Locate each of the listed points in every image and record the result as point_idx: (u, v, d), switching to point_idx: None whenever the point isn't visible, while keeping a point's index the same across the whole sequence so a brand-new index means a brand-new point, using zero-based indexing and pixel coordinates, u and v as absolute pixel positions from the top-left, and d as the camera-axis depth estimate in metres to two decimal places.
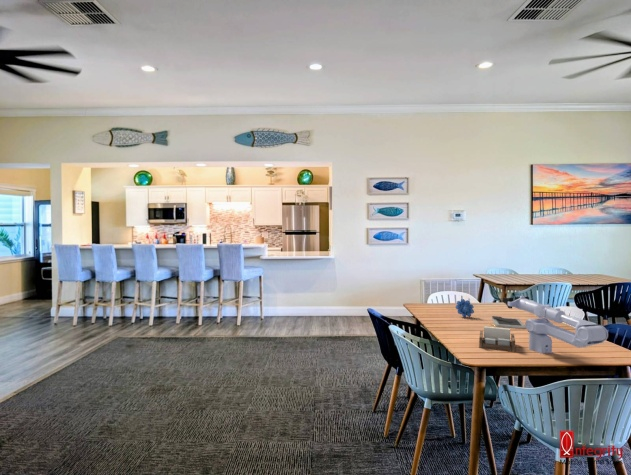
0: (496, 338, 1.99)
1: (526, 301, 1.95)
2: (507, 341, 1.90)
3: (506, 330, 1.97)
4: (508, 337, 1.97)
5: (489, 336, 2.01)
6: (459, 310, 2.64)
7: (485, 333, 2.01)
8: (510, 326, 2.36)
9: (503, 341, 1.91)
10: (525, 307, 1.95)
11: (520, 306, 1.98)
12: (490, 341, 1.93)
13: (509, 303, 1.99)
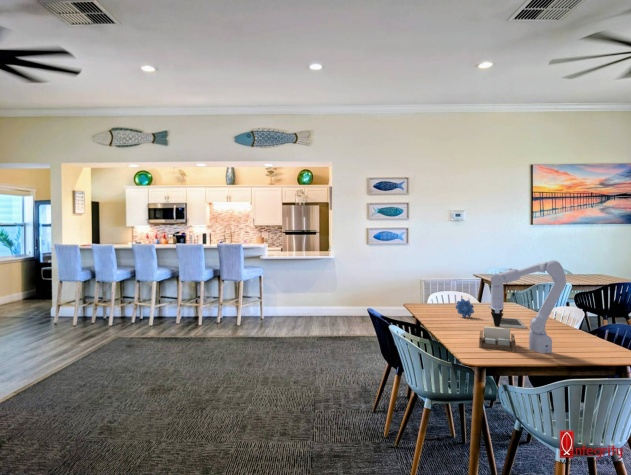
0: (496, 338, 1.99)
1: (492, 298, 1.99)
2: (507, 341, 1.90)
3: (506, 330, 1.97)
4: (508, 337, 1.97)
5: (489, 336, 2.01)
6: (459, 310, 2.64)
7: (485, 333, 2.01)
8: (510, 326, 2.36)
9: (503, 341, 1.91)
10: (497, 297, 1.97)
11: (498, 304, 1.97)
12: (490, 341, 1.93)
13: (496, 310, 1.93)
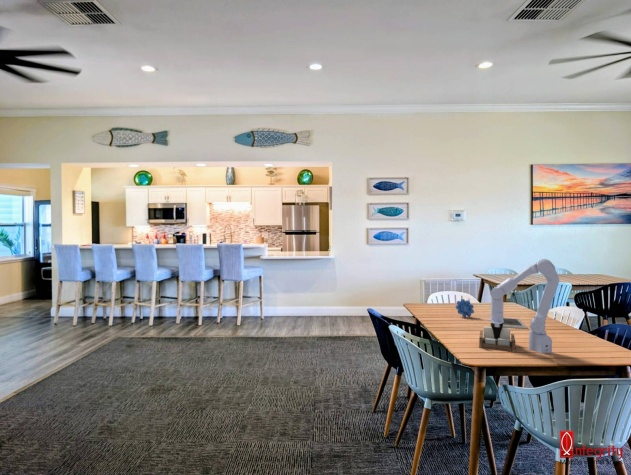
0: None
1: (491, 311, 1.99)
2: (507, 341, 1.90)
3: (506, 330, 1.97)
4: (508, 337, 1.97)
5: (489, 336, 2.01)
6: (459, 310, 2.64)
7: (485, 333, 2.01)
8: (511, 326, 2.36)
9: (503, 341, 1.91)
10: (497, 310, 1.97)
11: (498, 317, 1.97)
12: (490, 341, 1.93)
13: (496, 324, 1.93)
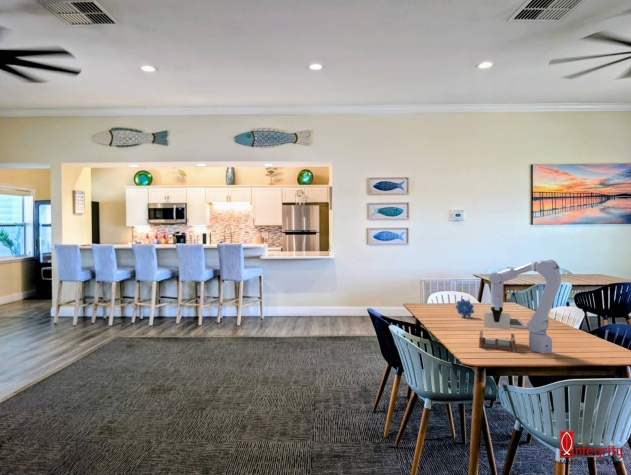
0: (496, 322, 2.06)
1: (492, 295, 2.06)
2: (507, 341, 1.90)
3: (506, 314, 2.04)
4: (508, 321, 2.04)
5: (490, 321, 2.07)
6: (459, 310, 2.64)
7: (485, 318, 2.08)
8: (511, 326, 2.35)
9: (503, 341, 1.91)
10: (494, 294, 2.05)
11: (498, 301, 2.04)
12: (490, 341, 1.93)
13: (496, 307, 2.00)
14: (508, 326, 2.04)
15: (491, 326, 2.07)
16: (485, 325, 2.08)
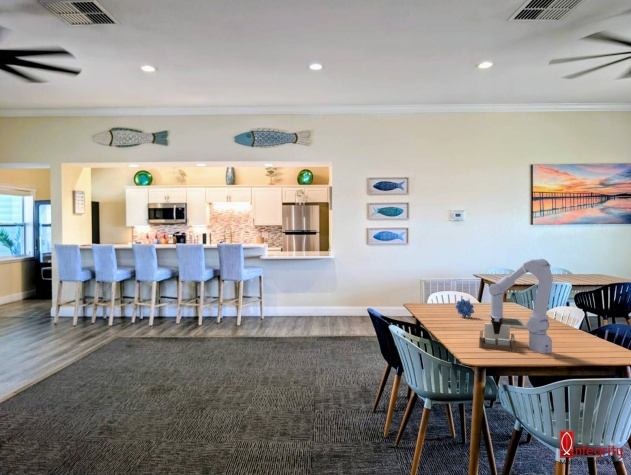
0: (496, 334, 2.08)
1: (492, 307, 2.08)
2: (507, 341, 1.90)
3: (506, 326, 2.06)
4: (508, 333, 2.06)
5: (490, 332, 2.10)
6: (459, 310, 2.64)
7: (486, 329, 2.10)
8: (512, 326, 2.35)
9: (503, 341, 1.91)
10: (494, 305, 2.07)
11: (498, 312, 2.06)
12: (490, 341, 1.93)
13: (496, 318, 2.03)
14: (508, 338, 2.06)
15: None
16: (485, 337, 2.11)
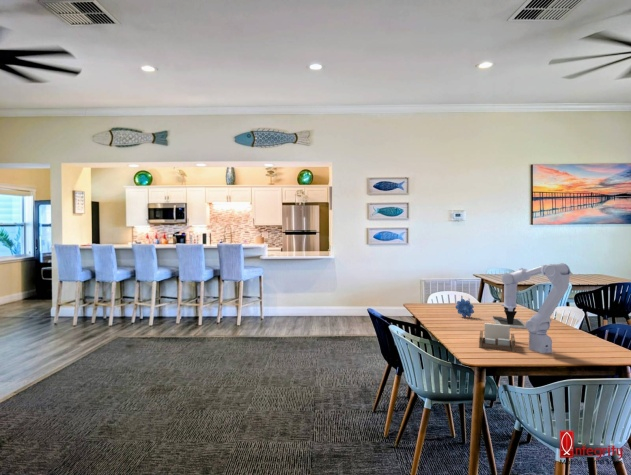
0: (496, 334, 2.08)
1: (505, 296, 2.04)
2: (507, 341, 1.90)
3: (506, 326, 2.06)
4: (508, 333, 2.06)
5: (490, 332, 2.10)
6: (459, 310, 2.64)
7: (486, 329, 2.10)
8: (513, 326, 2.35)
9: (503, 341, 1.91)
10: (507, 295, 2.03)
11: (512, 302, 2.02)
12: (490, 341, 1.93)
13: (509, 308, 1.98)
14: (508, 338, 2.06)
15: None
16: (485, 337, 2.11)
